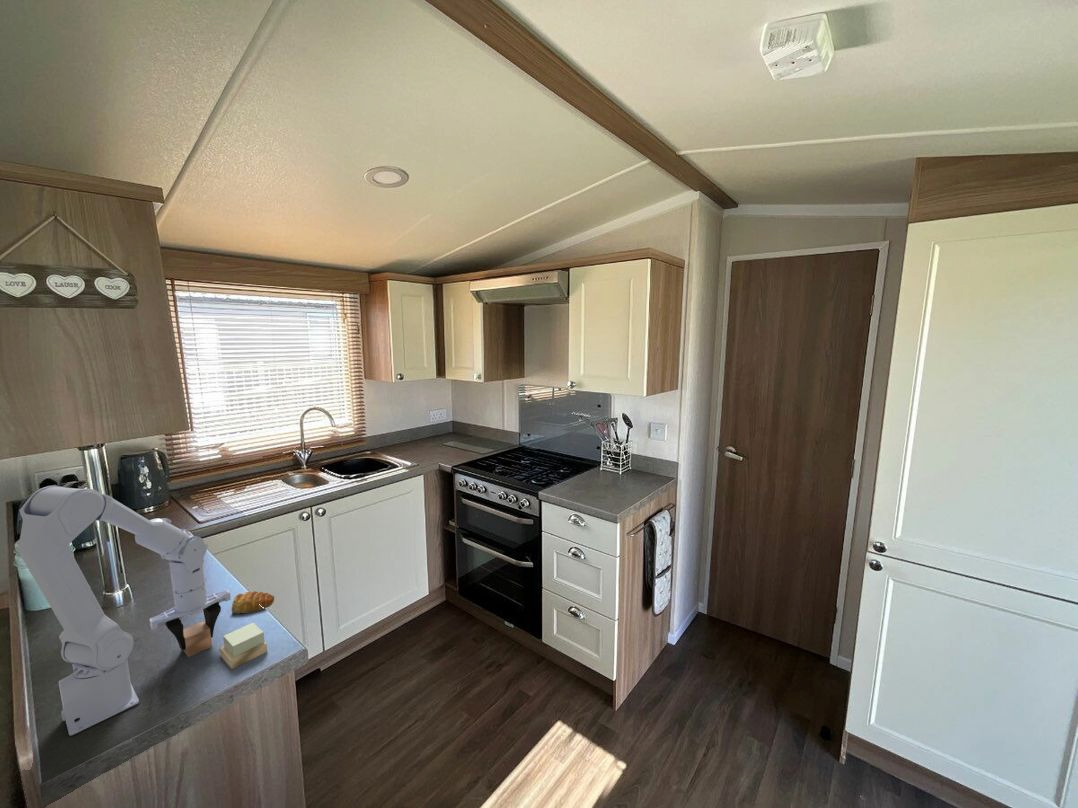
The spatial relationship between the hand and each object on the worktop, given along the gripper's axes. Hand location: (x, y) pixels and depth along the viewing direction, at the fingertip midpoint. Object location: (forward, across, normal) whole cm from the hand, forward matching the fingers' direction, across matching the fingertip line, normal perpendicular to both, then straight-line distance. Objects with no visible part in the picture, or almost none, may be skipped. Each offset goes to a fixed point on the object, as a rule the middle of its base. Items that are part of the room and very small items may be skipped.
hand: (196, 642), depth 103 cm
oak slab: (+2, +6, -11) cm, 13 cm away
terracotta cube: (+1, 0, 0) cm, 1 cm away
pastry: (+2, +14, +9) cm, 17 cm away
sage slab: (-1, +6, -11) cm, 12 cm away
